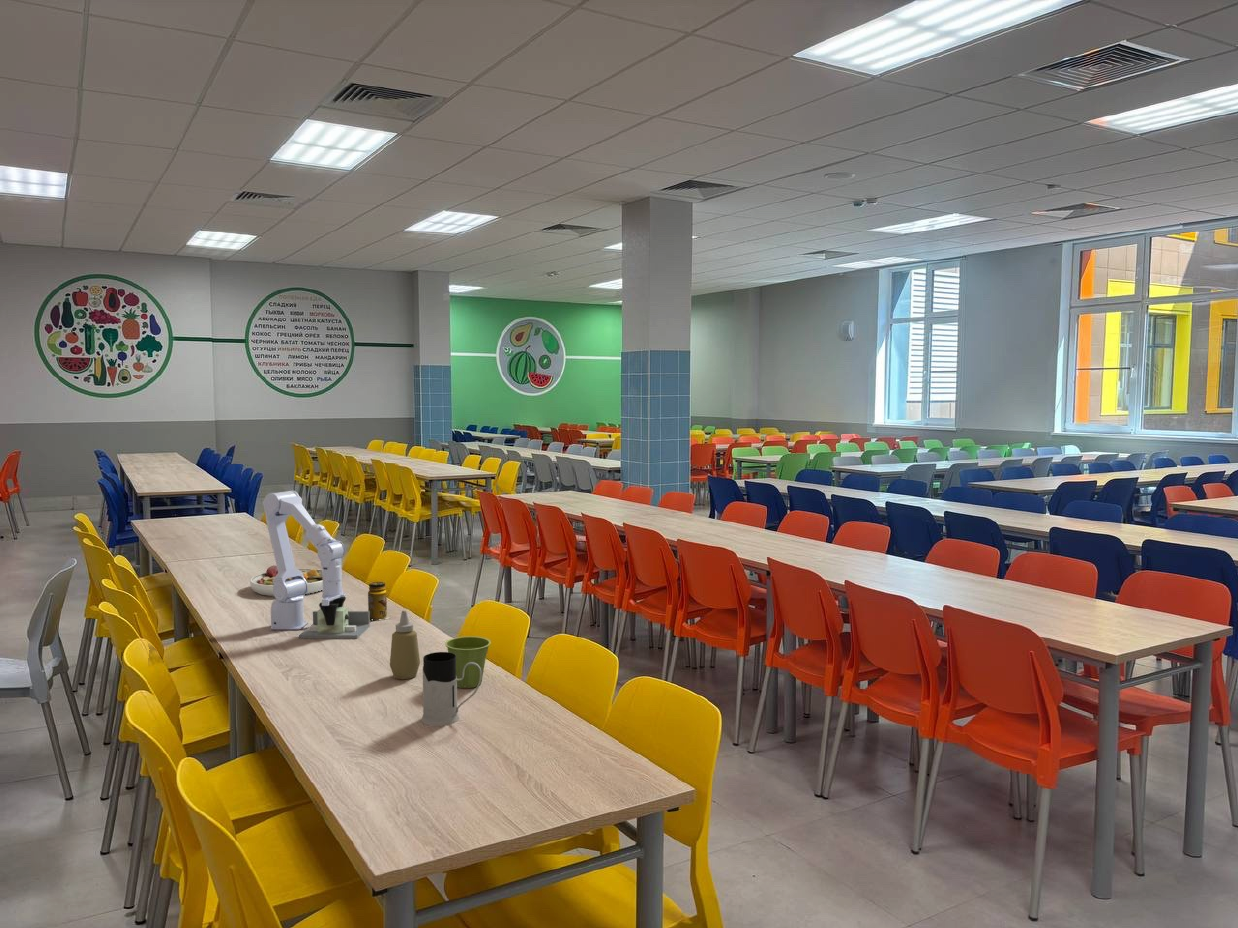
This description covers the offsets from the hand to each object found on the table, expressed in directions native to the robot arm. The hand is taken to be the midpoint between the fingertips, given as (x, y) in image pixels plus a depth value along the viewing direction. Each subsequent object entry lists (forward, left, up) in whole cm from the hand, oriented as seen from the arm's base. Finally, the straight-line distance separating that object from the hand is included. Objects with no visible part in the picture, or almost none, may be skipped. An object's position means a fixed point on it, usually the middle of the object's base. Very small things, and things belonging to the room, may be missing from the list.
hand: (333, 622), depth 271 cm
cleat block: (0, 0, -3) cm, 3 cm away
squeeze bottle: (+32, -40, -4) cm, 51 cm away
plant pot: (+50, -46, -4) cm, 68 cm away
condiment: (+8, +19, -4) cm, 21 cm away
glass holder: (+50, -70, -4) cm, 86 cm away
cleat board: (0, +2, -4) cm, 4 cm away
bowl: (-35, +61, -4) cm, 70 cm away
